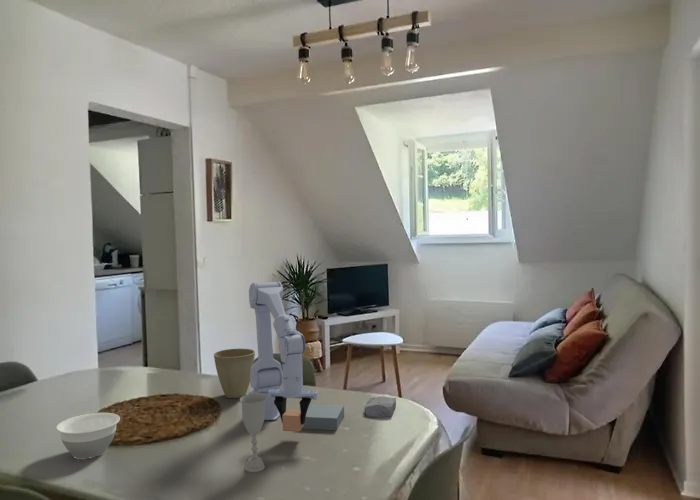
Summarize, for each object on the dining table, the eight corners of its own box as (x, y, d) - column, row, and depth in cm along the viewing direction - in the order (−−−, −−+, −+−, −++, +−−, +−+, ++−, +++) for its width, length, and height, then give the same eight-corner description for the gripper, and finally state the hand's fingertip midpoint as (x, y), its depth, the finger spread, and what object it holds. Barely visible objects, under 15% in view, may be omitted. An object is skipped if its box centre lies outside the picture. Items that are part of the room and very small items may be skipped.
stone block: (364, 422, 174) (394, 417, 172) (361, 407, 174) (391, 402, 172) (370, 411, 185) (398, 406, 184) (367, 397, 186) (395, 392, 184)
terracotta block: (282, 430, 153) (282, 415, 153) (287, 424, 158) (287, 409, 158) (299, 431, 152) (299, 416, 152) (304, 425, 157) (303, 410, 157)
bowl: (78, 470, 137) (77, 437, 137) (45, 457, 146) (43, 426, 146) (133, 448, 151) (132, 418, 151) (99, 437, 159) (98, 408, 159)
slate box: (298, 429, 164) (298, 416, 164) (308, 415, 176) (308, 403, 176) (337, 431, 162) (336, 418, 162) (344, 417, 174) (344, 405, 174)
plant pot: (264, 392, 200) (263, 350, 200) (235, 404, 188) (234, 359, 187) (235, 387, 208) (234, 346, 208) (206, 397, 196) (204, 354, 195)
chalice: (243, 462, 141) (241, 394, 140) (269, 460, 141) (267, 393, 140) (239, 474, 133) (238, 403, 133) (267, 473, 134) (265, 402, 133)
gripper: (264, 379, 152) (265, 426, 152) (313, 381, 149) (314, 429, 150) (271, 372, 159) (272, 417, 159) (319, 374, 156) (320, 420, 157)
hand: (293, 422), depth 155 cm, fingers closed on terracotta block, 5 cm apart
